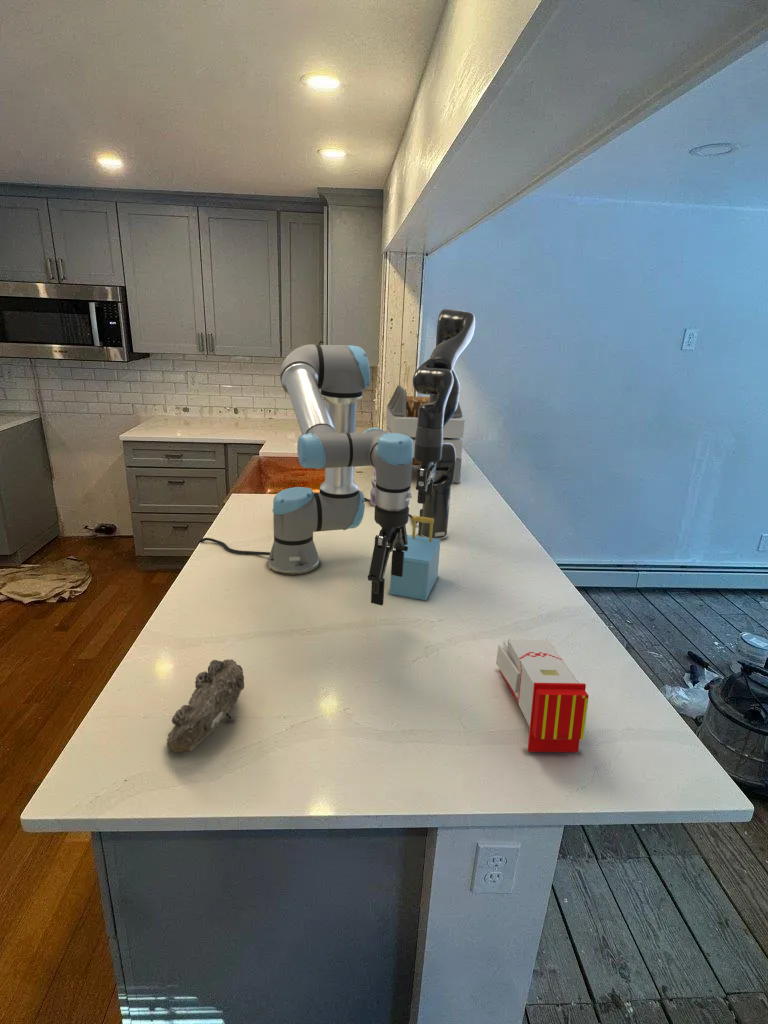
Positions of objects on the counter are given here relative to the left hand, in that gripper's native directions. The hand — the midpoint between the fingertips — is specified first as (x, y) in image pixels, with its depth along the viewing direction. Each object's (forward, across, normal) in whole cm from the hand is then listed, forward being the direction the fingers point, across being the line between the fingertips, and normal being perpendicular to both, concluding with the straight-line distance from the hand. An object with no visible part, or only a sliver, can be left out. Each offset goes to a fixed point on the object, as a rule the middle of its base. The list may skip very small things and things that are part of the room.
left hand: (387, 588), depth 132 cm
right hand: (-9, +36, +2) cm, 37 cm away
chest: (+15, +28, +1) cm, 32 cm away
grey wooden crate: (+24, +143, +33) cm, 148 cm away
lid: (+4, +30, +1) cm, 30 cm away
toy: (+11, -12, -36) cm, 40 cm away
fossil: (+11, -40, +21) cm, 46 cm away
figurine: (+20, +92, +35) cm, 100 cm away
